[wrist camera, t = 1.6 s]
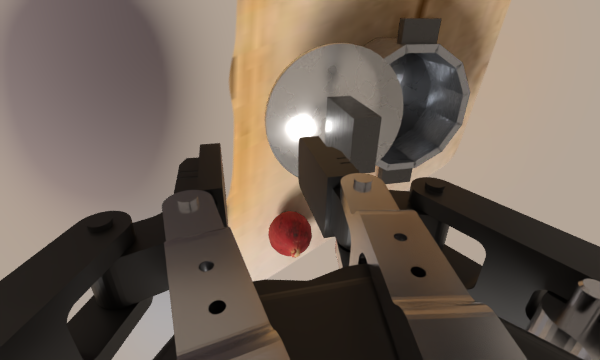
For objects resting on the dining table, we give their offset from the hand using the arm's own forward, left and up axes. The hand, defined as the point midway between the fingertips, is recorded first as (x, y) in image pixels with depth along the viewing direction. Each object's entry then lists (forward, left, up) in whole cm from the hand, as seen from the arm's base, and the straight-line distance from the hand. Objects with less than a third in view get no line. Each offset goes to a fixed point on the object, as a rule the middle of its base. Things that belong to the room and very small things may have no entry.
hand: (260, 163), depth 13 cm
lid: (+5, +10, -20) cm, 23 cm away
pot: (+5, +19, -27) cm, 34 cm away
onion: (+22, +6, -27) cm, 36 cm away
